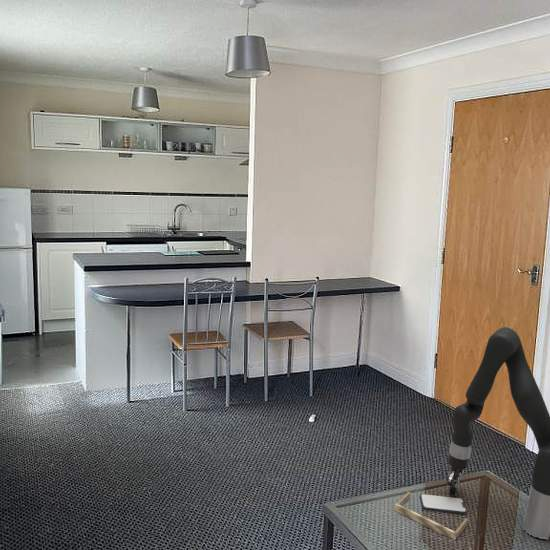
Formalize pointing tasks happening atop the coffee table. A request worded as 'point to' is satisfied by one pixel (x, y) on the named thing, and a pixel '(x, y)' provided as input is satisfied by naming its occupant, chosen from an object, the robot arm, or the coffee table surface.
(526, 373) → the robot arm
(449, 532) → the wood frame
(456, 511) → the smartphone
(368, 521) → the coffee table surface
